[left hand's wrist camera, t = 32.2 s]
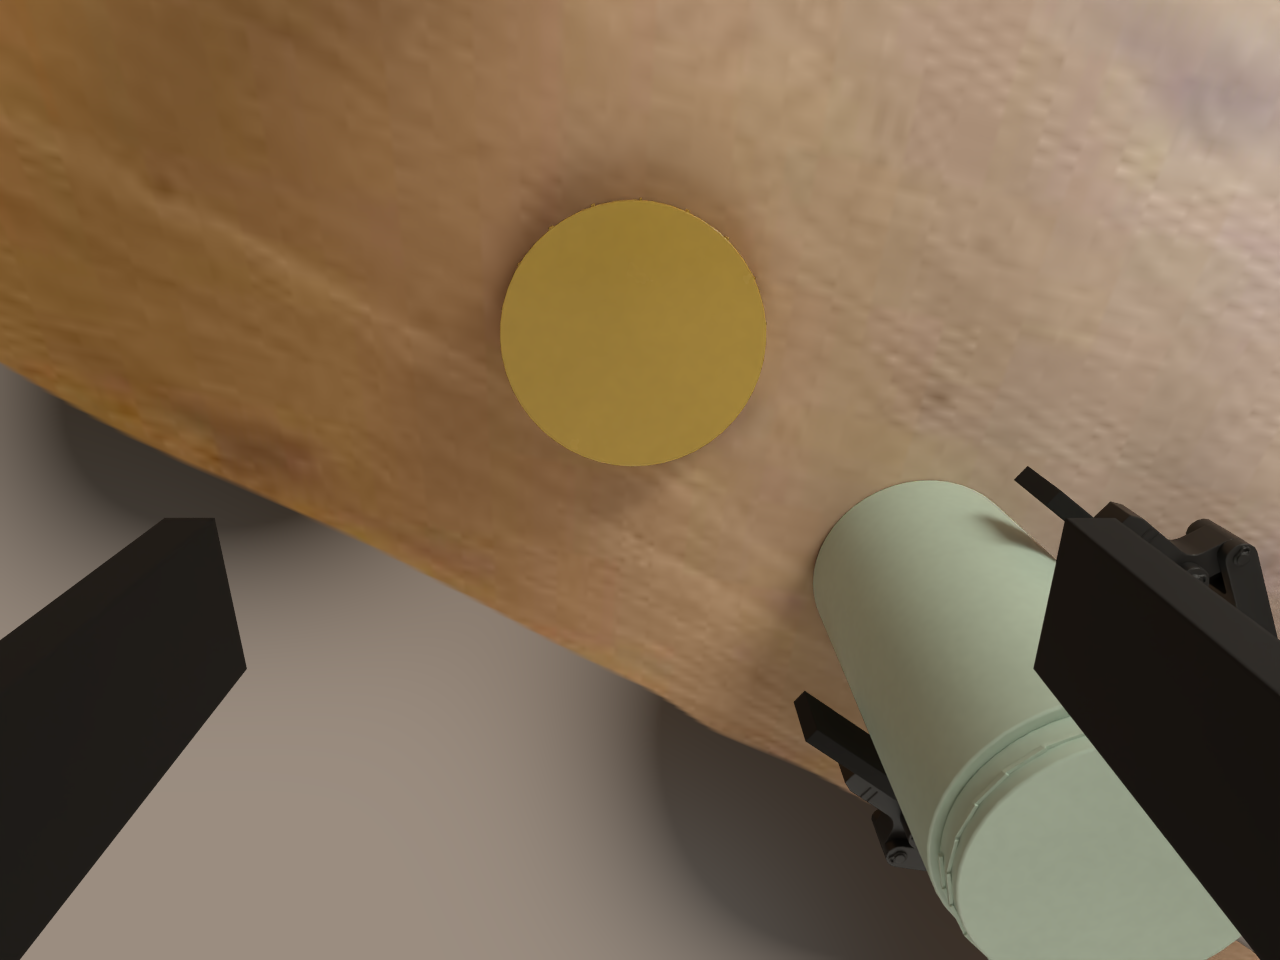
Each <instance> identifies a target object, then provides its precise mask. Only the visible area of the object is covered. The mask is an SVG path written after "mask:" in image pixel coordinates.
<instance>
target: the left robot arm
mask: <svg viewBox="0 0 1280 960" xmlns="http://www.w3.org/2000/svg"><path fill="white" fill-rule="evenodd" d="M246 669H247V668H246V663H245V658H244V654H243V649H242V644H241V640H240V635H239V630H238V625H237V621H236V616H235V611H234V607H233V602H232V597H231V593H230V588H229V584H228V579H227V574H226V569H225V565H224V560H223V555H222V551H221V546H220V541H219V537H218V532H217V527H216V523H215V518H164V519H163V520H161V521H160V522H159V523H158V524H156V525H155V526H153V527H152V528H151V529H149V530H148V531H147V532H145V533H144V534H143V535H141V536H140V537H139V538H137V539H136V540H135V541H133V542H132V543H130V544H129V545H128V546H127V547H125V548H124V549H122V550H121V551H120V552H118V553H117V554H116V555H114V556H113V557H112V558H110V559H109V560H108V561H106V562H105V563H104V564H102V565H101V566H100V567H98V568H97V569H95V570H94V571H93V572H91V573H90V574H89V575H87V576H86V577H85V578H83V579H82V580H81V581H79V582H78V583H77V584H75V585H74V586H73V587H71V588H70V589H69V590H67V591H66V592H65V593H63V594H62V595H61V596H59V597H58V598H56V599H55V600H54V601H52V602H51V603H50V604H48V605H47V606H46V607H44V608H43V609H42V610H40V611H39V612H38V613H36V614H35V615H34V616H32V617H31V618H30V619H28V620H27V621H25V622H24V623H23V624H21V625H20V626H19V627H17V628H16V629H15V630H13V631H12V632H11V633H9V634H8V635H7V636H5V637H4V638H3V639H1V640H0V960H20V959H21V957H22V956H23V955H24V954H25V952H26V951H27V950H28V948H29V947H30V946H31V945H32V943H33V942H34V941H35V939H36V938H37V937H38V936H39V934H40V933H41V932H42V931H43V929H44V928H45V927H46V925H47V924H48V923H49V921H50V920H51V919H52V918H53V916H54V915H55V914H56V913H57V911H58V910H59V909H60V907H61V906H62V905H63V904H64V902H65V901H66V900H67V898H68V897H69V896H70V895H71V893H72V892H73V891H74V890H75V888H76V887H77V886H78V884H79V883H80V882H81V881H82V879H83V878H84V877H85V875H86V874H87V873H88V872H89V870H90V869H91V868H92V866H93V865H94V864H95V863H96V861H97V860H98V859H99V857H100V856H101V855H102V854H103V852H104V851H105V850H106V848H107V847H108V846H109V845H110V843H111V842H112V841H113V839H114V838H115V837H116V836H117V834H118V833H119V832H120V831H121V829H122V828H123V827H124V825H125V824H126V823H127V822H128V820H129V819H130V818H131V816H132V815H133V814H134V813H135V811H136V810H137V809H138V807H139V806H140V805H141V804H142V802H143V801H144V800H145V799H146V797H147V796H148V795H149V793H150V792H151V791H152V790H153V788H154V787H155V786H156V784H157V783H158V782H159V781H160V779H161V778H162V777H163V775H164V774H165V773H166V772H167V770H168V769H169V768H170V767H171V765H172V764H173V763H174V761H175V760H176V759H177V758H178V756H179V755H180V754H181V752H182V751H183V750H184V749H185V747H186V746H187V745H188V743H189V742H190V741H191V740H192V738H193V737H194V736H195V734H196V733H197V732H198V731H199V729H200V728H201V727H202V725H203V724H204V723H205V722H206V720H207V719H208V718H209V717H210V715H211V714H212V713H213V711H214V710H215V709H216V708H217V706H218V705H219V704H220V702H221V701H222V700H223V699H224V697H225V696H226V695H227V693H228V692H229V691H230V690H231V688H232V687H233V686H234V684H235V683H236V682H237V681H238V679H239V678H240V677H241V676H242V674H243V673H244V672H245V670H246ZM1033 669H1034V670H1035V672H1036V673H1037V674H1038V676H1039V677H1040V678H1041V679H1042V681H1043V682H1044V683H1045V685H1046V686H1047V687H1048V688H1049V690H1050V691H1051V692H1052V693H1053V695H1054V696H1055V697H1056V699H1057V700H1058V701H1059V702H1060V704H1061V705H1062V706H1063V708H1064V709H1065V710H1066V711H1067V713H1068V714H1069V715H1070V717H1071V718H1072V719H1073V720H1074V722H1075V723H1076V724H1077V726H1078V727H1079V728H1080V729H1081V731H1082V732H1083V733H1084V734H1085V736H1086V737H1087V738H1088V740H1089V741H1090V742H1091V743H1092V745H1093V746H1094V747H1095V749H1096V750H1097V751H1098V752H1099V754H1100V755H1101V756H1102V758H1103V759H1104V760H1105V761H1106V763H1107V764H1108V765H1109V767H1110V768H1111V769H1112V770H1113V772H1114V773H1115V774H1116V775H1117V777H1118V778H1119V779H1120V781H1121V782H1122V783H1123V784H1124V786H1125V787H1126V788H1127V790H1128V791H1129V792H1130V793H1131V795H1132V796H1133V797H1134V799H1135V800H1136V801H1137V802H1138V804H1139V805H1140V806H1141V808H1142V809H1143V810H1144V811H1145V813H1146V814H1147V815H1148V816H1149V818H1150V819H1151V820H1152V822H1153V823H1154V824H1155V825H1156V827H1157V828H1158V829H1159V831H1160V832H1161V833H1162V834H1163V836H1164V837H1165V838H1166V840H1167V841H1168V842H1169V843H1170V845H1171V846H1172V847H1173V849H1174V850H1175V851H1176V852H1177V854H1178V855H1179V856H1180V857H1181V859H1182V860H1183V861H1184V863H1185V864H1186V865H1187V866H1188V868H1189V869H1190V870H1191V872H1192V873H1193V874H1194V875H1195V877H1196V878H1197V879H1198V881H1199V882H1200V883H1201V884H1202V886H1203V887H1204V888H1205V890H1206V891H1207V892H1208V893H1209V895H1210V896H1211V897H1212V898H1213V900H1214V901H1215V902H1216V904H1217V905H1218V906H1219V907H1220V909H1221V910H1222V911H1223V913H1224V914H1225V915H1226V916H1227V918H1228V919H1229V920H1230V922H1231V923H1232V924H1233V925H1234V927H1235V928H1236V929H1237V931H1238V932H1239V933H1240V934H1241V936H1242V937H1243V938H1244V939H1245V941H1246V942H1247V943H1248V945H1249V946H1250V947H1251V948H1252V950H1253V951H1254V952H1255V954H1256V955H1257V956H1258V957H1259V959H1260V960H1280V640H1279V639H1277V638H1276V637H1275V636H1273V635H1272V634H1271V633H1269V632H1268V631H1267V630H1265V629H1264V628H1263V627H1261V626H1260V625H1259V624H1257V623H1256V622H1255V621H1253V620H1252V619H1250V618H1249V617H1248V616H1246V615H1245V614H1244V613H1242V612H1241V611H1240V610H1238V609H1237V608H1236V607H1234V606H1233V605H1232V604H1230V603H1229V602H1228V601H1226V600H1225V599H1224V598H1222V597H1221V596H1220V595H1218V594H1217V593H1215V592H1214V591H1213V590H1211V589H1210V588H1209V587H1207V586H1206V585H1205V584H1203V583H1202V582H1201V581H1199V580H1198V579H1197V578H1195V577H1194V576H1193V575H1191V574H1190V573H1189V572H1187V571H1186V570H1185V569H1183V568H1182V567H1180V566H1179V565H1178V564H1176V563H1175V562H1174V561H1172V560H1171V559H1170V558H1168V557H1167V556H1166V555H1164V554H1163V553H1162V552H1160V551H1159V550H1158V549H1156V548H1155V547H1154V546H1152V545H1151V544H1150V543H1148V542H1147V541H1145V540H1144V539H1143V538H1141V537H1140V536H1139V535H1137V534H1136V533H1135V532H1133V531H1132V530H1131V529H1129V528H1128V527H1127V526H1125V525H1124V524H1123V523H1121V522H1120V521H1119V520H1117V519H1116V518H1065V523H1064V527H1063V532H1062V537H1061V541H1060V546H1059V551H1058V555H1057V560H1056V565H1055V569H1054V574H1053V579H1052V583H1051V588H1050V593H1049V597H1048V602H1047V607H1046V611H1045V616H1044V621H1043V625H1042V630H1041V635H1040V639H1039V644H1038V649H1037V653H1036V658H1035V663H1034V667H1033Z"/></svg>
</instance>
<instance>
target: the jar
mask: <svg viewBox="0 0 1280 960" xmlns="http://www.w3.org/2000/svg"><path fill="white" fill-rule="evenodd" d="M1055 565H1056V559H1055V558H1053V557H1052V556H1051V555H1050V554H1049V553H1048V552H1047V551H1046V550H1045V549H1044V548H1042V547H1041V546H1040V545H1039V544H1038V543H1037V542H1036V541H1035V540H1034V539H1033V538H1032V537H1030V536H1029V535H1028V534H1027V533H1026V532H1025V531H1024V530H1023V529H1022V528H1021V527H1020V526H1018V525H1017V524H1016V523H1015V522H1014V521H1013V520H1012V519H1011V518H1010V517H1009V516H1008V515H1006V514H1005V513H1004V512H1003V511H1002V510H1001V509H1000V508H999V507H998V506H997V505H996V504H994V503H993V502H992V501H991V500H989V499H988V498H987V497H985V496H984V495H982V494H980V493H978V492H977V491H975V490H973V489H970V488H968V487H965V486H963V485H959V484H955V483H951V482H945V481H936V480H927V481H914V482H907V483H902V484H899V485H895V486H891V487H889V488H886V489H883V490H881V491H878V492H876V493H875V494H873V495H871V496H869V497H867V498H865V499H864V500H862V501H861V502H859V503H858V504H856V505H855V506H854V507H853V508H851V509H850V510H849V511H848V512H847V513H846V514H845V515H843V517H842V518H841V519H840V520H839V521H838V522H837V523H836V524H835V525H834V527H833V528H832V530H831V531H830V533H829V534H828V535H827V537H826V539H825V541H824V543H823V545H822V547H821V549H820V551H819V554H818V557H817V560H816V564H815V568H814V576H813V591H814V598H815V603H816V607H817V609H818V612H819V614H820V617H821V619H822V622H823V624H824V626H825V629H826V631H827V634H828V636H829V638H830V641H831V643H832V646H833V648H834V650H835V653H836V655H837V657H838V660H839V662H840V665H841V667H842V669H843V672H844V674H845V677H846V679H847V681H848V684H849V686H850V689H851V691H852V693H853V696H854V698H855V700H856V703H857V705H858V708H859V710H860V712H861V715H862V717H863V720H864V722H865V724H866V727H867V729H868V731H869V734H870V736H871V739H872V741H873V743H874V746H875V748H876V751H877V753H878V755H879V758H880V760H881V763H882V765H883V767H884V770H885V772H886V774H887V777H888V779H889V782H890V784H891V786H892V789H893V791H894V794H895V796H896V798H897V801H898V803H899V806H900V808H901V810H902V813H903V815H904V817H905V820H906V822H907V825H908V827H909V829H910V832H911V834H912V837H913V839H914V841H915V844H916V846H917V848H918V851H919V853H920V856H921V858H922V860H923V863H924V865H925V868H926V870H927V872H928V875H929V877H930V880H931V882H932V884H933V887H934V889H935V891H936V893H937V895H938V897H939V898H940V900H941V901H942V903H943V905H944V906H945V907H946V908H947V909H948V911H949V912H950V913H951V914H952V915H953V916H954V917H955V918H956V920H957V922H958V924H959V926H960V928H961V930H962V932H963V934H964V936H965V937H966V938H967V939H968V940H969V941H970V942H971V943H972V944H974V945H975V946H976V947H977V948H978V949H979V950H980V951H981V952H982V953H983V954H984V955H985V956H986V957H987V958H988V960H1207V959H1208V958H1210V957H1212V956H1213V955H1215V954H1217V953H1218V952H1220V951H1222V950H1223V949H1224V948H1226V947H1227V946H1229V945H1230V944H1231V943H1233V942H1234V941H1235V940H1237V939H1238V938H1239V937H1240V936H1241V934H1240V933H1239V932H1238V931H1237V929H1236V928H1235V927H1234V925H1233V924H1232V923H1231V922H1230V920H1229V919H1228V918H1227V916H1226V915H1225V914H1224V913H1223V911H1222V910H1221V909H1220V907H1219V906H1218V905H1217V904H1216V902H1215V901H1214V900H1213V898H1212V897H1211V896H1210V895H1209V893H1208V892H1207V891H1206V890H1205V888H1204V887H1203V886H1202V884H1201V883H1200V882H1199V881H1198V879H1197V878H1196V877H1195V875H1194V874H1193V873H1192V872H1191V870H1190V869H1189V868H1188V866H1187V865H1186V864H1185V863H1184V861H1183V860H1182V859H1181V857H1180V856H1179V855H1178V854H1177V852H1176V851H1175V850H1174V849H1173V847H1172V846H1171V845H1170V843H1169V842H1168V841H1167V840H1166V838H1165V837H1164V836H1163V834H1162V833H1161V832H1160V831H1159V829H1158V828H1157V827H1156V825H1155V824H1154V823H1153V822H1152V820H1151V819H1150V818H1149V816H1148V815H1147V814H1146V813H1145V811H1144V810H1143V809H1142V808H1141V806H1140V805H1139V804H1138V802H1137V801H1136V800H1135V799H1134V797H1133V796H1132V795H1131V793H1130V792H1129V791H1128V790H1127V788H1126V787H1125V786H1124V784H1123V783H1122V782H1121V781H1120V779H1119V778H1118V777H1117V775H1116V774H1115V773H1114V772H1113V770H1112V769H1111V768H1110V767H1109V765H1108V764H1107V763H1106V761H1105V760H1104V759H1103V758H1102V756H1101V755H1100V754H1099V752H1098V751H1097V750H1096V749H1095V747H1094V746H1093V745H1092V743H1091V742H1090V741H1089V740H1088V738H1087V737H1086V736H1085V734H1084V733H1083V732H1082V731H1081V729H1080V728H1079V727H1078V726H1077V724H1076V723H1075V722H1074V720H1073V719H1072V718H1071V717H1070V715H1069V714H1068V713H1067V711H1066V710H1065V709H1064V708H1063V706H1062V705H1061V704H1060V702H1059V701H1058V700H1057V699H1056V697H1055V696H1054V695H1053V693H1052V692H1051V691H1050V690H1049V688H1048V687H1047V686H1046V685H1045V683H1044V682H1043V681H1042V679H1041V678H1040V677H1039V676H1038V674H1037V673H1036V672H1035V670H1034V669H1033V667H1034V663H1035V658H1036V653H1037V649H1038V644H1039V639H1040V635H1041V630H1042V625H1043V621H1044V616H1045V611H1046V607H1047V602H1048V597H1049V593H1050V588H1051V583H1052V579H1053V574H1054V569H1055Z"/></svg>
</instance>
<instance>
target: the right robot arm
mask: <svg viewBox="0 0 1280 960" xmlns="http://www.w3.org/2000/svg"><path fill="white" fill-rule="evenodd" d="M1014 480H1015V481H1016V482H1017V483H1018V484H1020V485H1021V486H1022V487H1023V488H1025V489H1026V490H1027V491H1028V492H1029V493H1031V494H1032V495H1033V496H1034V497H1036V498H1037V499H1038V500H1039V501H1041V502H1042V503H1043V504H1044V505H1045V506H1047V507H1048V508H1049V509H1050V510H1052V511H1053V512H1054V513H1055V514H1056V515H1058V516H1059V517H1060V518H1061V519H1063V520H1064V521H1065V518H1093V517H1092V516H1091V515H1090V514H1088V513H1087V512H1086V511H1085V510H1084V509H1082V508H1081V507H1080V506H1079V505H1078V504H1076V503H1075V502H1074V501H1073V500H1072V499H1070V498H1069V497H1068V496H1067V495H1065V494H1064V493H1063V492H1062V491H1061V490H1059V489H1058V488H1057V487H1055V486H1054V485H1053V484H1051V483H1050V482H1048V481H1047V480H1046V479H1044V478H1043V477H1042V476H1040V475H1039V474H1038V473H1036V472H1035V471H1034V470H1032V469H1031V468H1030V467H1028V466H1027V467H1026V468H1025V469H1024V470H1023V471H1022V472H1021V473H1020V474H1019V475H1018V476H1017V477H1016V478H1015V479H1014ZM1094 518H1116V519H1117V520H1119V521H1120V522H1121V523H1123V524H1124V525H1125V526H1127V527H1128V528H1129V529H1131V530H1132V531H1133V532H1135V533H1136V534H1137V535H1139V536H1140V537H1141V538H1143V539H1144V540H1145V541H1147V542H1148V543H1150V544H1151V545H1152V546H1154V547H1155V548H1156V549H1158V550H1159V551H1160V552H1162V553H1163V554H1164V555H1166V556H1167V557H1168V558H1170V559H1171V560H1172V561H1174V562H1175V563H1176V564H1178V565H1179V566H1180V567H1182V568H1183V569H1185V570H1186V571H1187V572H1189V573H1190V574H1191V575H1193V576H1194V577H1195V578H1197V579H1198V580H1199V581H1201V582H1202V583H1203V584H1205V585H1206V586H1207V587H1209V588H1210V589H1211V590H1213V591H1214V592H1215V593H1217V594H1218V595H1220V596H1221V597H1222V598H1224V599H1225V600H1226V601H1228V602H1229V603H1230V604H1232V605H1233V606H1234V607H1236V608H1237V609H1238V610H1240V611H1241V612H1242V613H1244V614H1245V615H1246V616H1248V617H1249V618H1250V619H1252V620H1253V621H1255V622H1256V623H1257V624H1259V625H1260V626H1261V627H1263V628H1264V629H1265V630H1267V631H1268V632H1269V633H1271V634H1272V635H1273V636H1275V637H1276V638H1277V634H1276V629H1275V625H1274V621H1273V617H1272V612H1271V608H1270V604H1269V600H1268V595H1267V591H1266V587H1265V583H1264V579H1263V574H1262V570H1261V566H1260V562H1259V557H1258V553H1257V551H1256V549H1255V547H1253V546H1252V545H1250V544H1248V543H1247V542H1245V541H1244V540H1242V539H1241V538H1239V537H1237V536H1236V535H1234V534H1232V533H1231V532H1229V531H1227V530H1226V529H1224V528H1222V527H1221V526H1219V525H1217V524H1215V523H1214V522H1212V521H1210V520H1208V519H1201V520H1197V521H1195V522H1194V523H1192V524H1191V525H1190V526H1189V527H1188V529H1187V532H1186V535H1185V536H1183V537H1181V538H1178V539H1174V540H1168V539H1166V538H1165V537H1164V536H1163V535H1162V534H1161V533H1159V532H1158V531H1157V530H1156V529H1155V528H1153V527H1152V526H1151V525H1150V524H1149V523H1148V522H1146V521H1145V520H1144V519H1143V518H1141V517H1140V516H1138V515H1137V514H1135V513H1134V512H1132V511H1131V510H1129V509H1128V508H1126V507H1125V506H1124V505H1121V504H1118V503H1114V502H1109V503H1108V504H1107V505H1106V506H1105V507H1104V508H1103V509H1102V510H1101V511H1100V512H1099V513H1098V514H1097V515H1096V516H1095V517H1094ZM1277 639H1278V638H1277ZM794 704H795V708H796V711H797V714H798V718H799V721H800V724H801V728H802V731H803V734H804V737H805V741H806V742H808V743H809V744H811V745H812V746H814V747H815V748H817V749H818V750H820V751H821V752H823V753H824V754H826V755H827V756H829V757H830V758H832V759H833V760H835V761H836V762H838V763H839V766H840V769H841V772H842V775H843V778H844V781H845V783H846V785H847V786H848V788H849V789H850V791H851V792H853V793H854V794H856V795H858V796H860V797H861V798H862V799H864V800H865V801H867V802H868V803H870V804H871V805H873V806H874V807H876V808H878V810H876V811H875V812H874V813H873V815H872V822H873V825H874V827H875V830H876V833H877V836H878V839H879V841H880V844H881V847H882V849H883V852H884V854H885V857H886V860H887V862H888V863H889V864H890V865H892V866H895V867H901V868H908V869H915V870H922V871H927V870H926V868H925V865H924V863H923V860H922V858H921V856H920V853H919V851H918V848H917V846H916V844H915V841H914V839H913V837H912V834H911V832H910V829H909V827H908V825H907V822H906V820H905V817H904V815H903V813H902V810H901V808H900V806H899V803H898V801H897V798H896V796H895V794H894V791H893V789H892V786H891V784H890V782H889V779H888V777H887V774H886V772H885V770H884V767H883V765H882V763H881V760H880V758H879V755H878V753H877V751H876V748H875V746H874V743H873V741H872V739H871V736H870V735H869V734H868V733H866V732H865V731H863V730H862V729H860V728H859V727H857V726H856V725H854V724H853V723H851V722H850V721H849V720H847V719H846V718H844V717H843V716H841V715H840V714H838V713H837V712H835V711H834V710H832V709H831V708H829V707H828V706H826V705H825V704H823V703H822V702H820V701H819V700H817V699H816V698H814V697H813V696H812V695H810V694H809V693H807V692H806V691H804V692H803V693H802V694H801V695H800V696H799V697H798V698H797V699H796V700H795V701H794ZM1237 941H1238V942H1240V943H1241V944H1243V945H1244V946H1246V947H1247V948H1249V949H1250V950H1252V948H1251V947H1250V946H1249V945H1248V943H1247V942H1246V941H1245V939H1244V938H1243V937H1242V936H1240V937H1239V938H1238V939H1237ZM1252 951H1253V950H1252ZM1253 952H1254V951H1253ZM1254 953H1255V952H1254Z"/></svg>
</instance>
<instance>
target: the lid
mask: <svg viewBox="0 0 1280 960" xmlns="http://www.w3.org/2000/svg"><path fill="white" fill-rule="evenodd" d="M548 229H549V231H548V232H547V233H545V234H544V235H543V236H542V237H541V238H540V239H539V240H538V241H537V242H536V243H535V244H534V245H533V246H532V248H531V249H530V250H529V251H528V253H527V254H526V255H525V256H524V258H523V259H522V261H521V262H519V263H518V264H517V266H518V268H517V269H516V271H515V273H514V275H513V277H512V280H511V282H510V284H509V286H508V289H507V292H506V296H505V299H504V303H503V307H502V308H501V310H502V314H501V321H500V344H501V353H502V359H503V363H504V367H505V371H506V375H507V377H508V380H509V382H510V385H511V387H512V390H513V392H514V393H515V395H516V397H517V399H518V401H519V403H520V404H521V406H522V407H523V408H524V410H525V411H526V413H527V414H528V415H529V417H530V418H531V419H532V420H533V421H534V422H535V423H536V424H537V426H538V427H539V428H540V429H541V430H542V431H543V432H545V433H546V434H547V435H548V436H549V437H551V438H552V439H553V440H554V441H556V442H557V443H559V444H560V445H562V446H564V447H565V448H567V449H568V450H570V451H572V452H575V453H577V454H579V455H581V456H583V457H586V458H589V459H592V460H595V461H598V462H602V463H607V464H612V465H619V466H649V465H654V464H660V463H665V462H669V461H672V460H675V459H678V458H681V457H683V456H686V455H688V454H690V453H692V452H695V451H696V450H698V449H700V448H701V447H703V446H705V445H706V444H708V443H710V442H711V441H712V440H713V439H715V438H716V437H717V436H718V435H720V434H721V433H722V432H723V431H724V430H725V429H726V428H727V427H728V426H729V425H730V424H731V423H732V422H733V421H734V420H735V419H736V417H737V416H738V415H739V413H740V412H741V411H742V409H743V408H744V407H745V405H746V403H747V401H748V400H749V398H750V396H751V394H752V393H753V390H754V388H755V386H756V383H757V381H758V378H759V375H760V372H761V369H762V364H763V361H764V354H765V347H766V325H767V324H766V321H765V313H764V307H763V303H762V299H761V296H760V292H759V289H758V287H757V284H756V282H755V279H756V278H755V277H754V276H753V275H752V273H751V271H750V270H749V268H748V266H747V264H746V263H745V261H744V259H743V258H742V257H741V255H740V254H739V253H738V252H737V250H736V249H735V248H734V246H733V245H732V244H731V243H730V242H729V241H728V240H729V238H728V237H726V236H723V235H722V234H721V233H720V232H718V231H717V230H716V229H714V228H713V227H711V226H710V225H709V224H707V223H706V222H705V221H703V220H702V219H700V218H698V217H696V216H694V215H693V214H691V213H689V210H688V209H685V210H682V209H679V208H677V207H674V206H671V205H668V204H664V203H659V202H655V201H647V200H642V198H639V200H635V199H633V200H617V201H612V202H606V203H601V204H598V205H595V203H594V204H591V207H589V208H586V209H583V210H581V211H579V212H577V213H575V214H573V215H571V216H569V217H567V218H566V219H564V220H563V221H561V222H560V223H559V224H557V225H556V226H553V225H552V226H551V227H549V228H548Z"/></svg>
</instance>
